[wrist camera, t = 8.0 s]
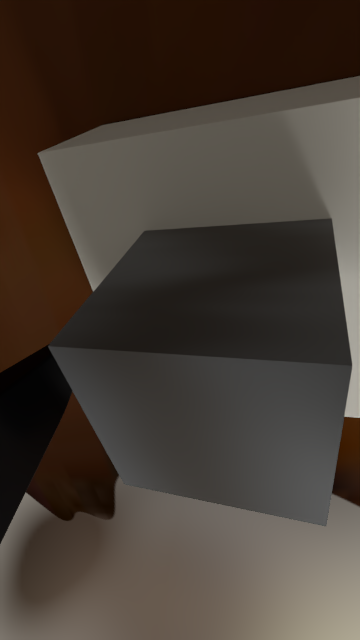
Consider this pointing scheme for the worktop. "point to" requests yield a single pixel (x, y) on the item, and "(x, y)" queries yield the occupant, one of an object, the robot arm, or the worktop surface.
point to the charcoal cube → (219, 365)
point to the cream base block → (220, 179)
